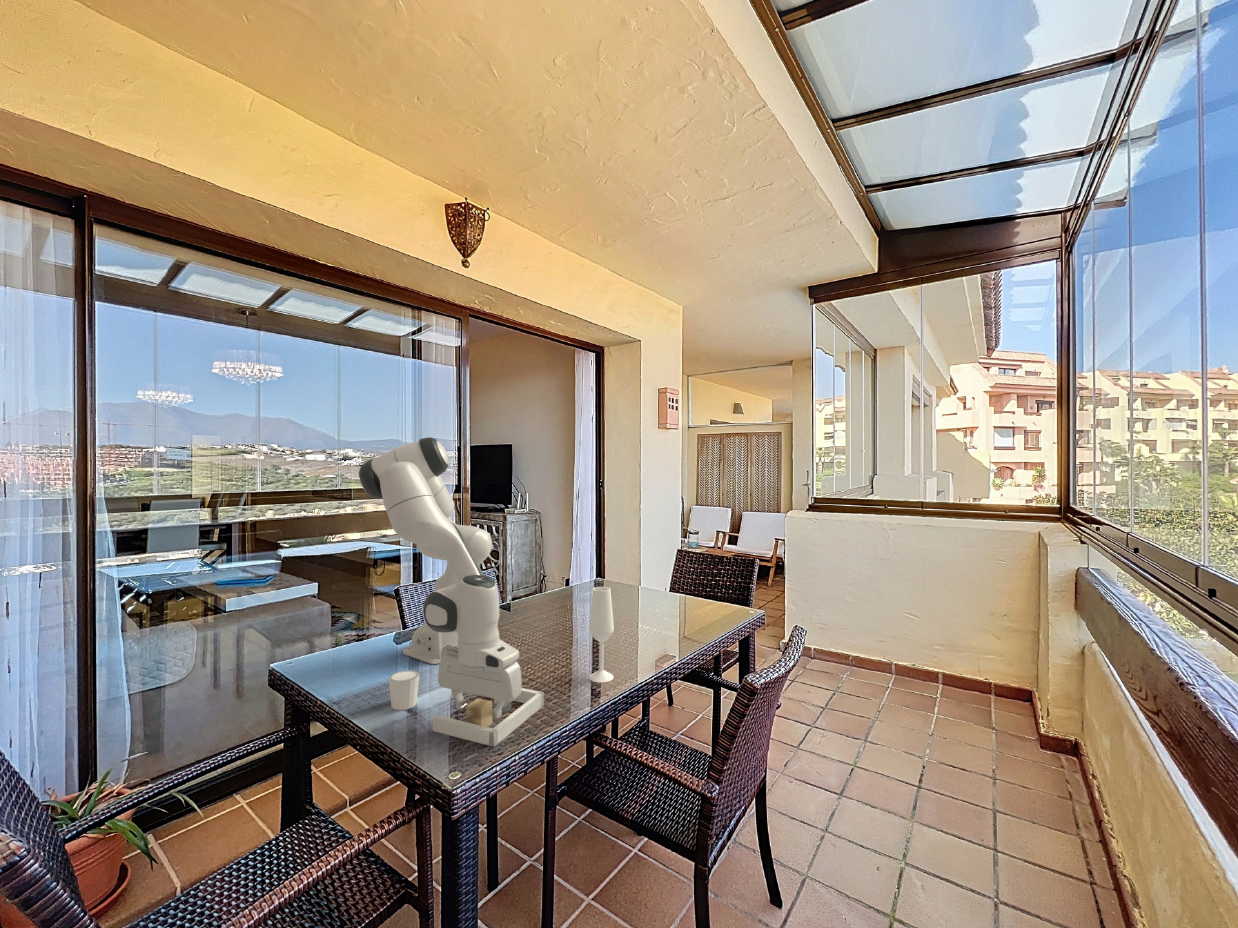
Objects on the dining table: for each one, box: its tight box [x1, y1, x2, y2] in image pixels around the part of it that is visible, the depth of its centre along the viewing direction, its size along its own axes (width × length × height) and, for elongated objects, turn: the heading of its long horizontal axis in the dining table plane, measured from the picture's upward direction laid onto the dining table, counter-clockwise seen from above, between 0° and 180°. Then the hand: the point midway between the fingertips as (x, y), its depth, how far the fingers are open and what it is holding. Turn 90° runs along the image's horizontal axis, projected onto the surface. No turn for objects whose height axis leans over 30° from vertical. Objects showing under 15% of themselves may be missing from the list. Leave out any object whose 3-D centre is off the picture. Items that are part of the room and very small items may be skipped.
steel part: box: [493, 699, 512, 714], centre depth 126 cm, size 4×4×6 cm
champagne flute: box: [588, 586, 615, 683], centre depth 144 cm, size 7×7×24 cm
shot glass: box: [388, 669, 420, 711], centre depth 128 cm, size 7×7×7 cm
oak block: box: [465, 697, 493, 728], centre depth 118 cm, size 4×4×5 cm
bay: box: [432, 687, 545, 747], centre depth 122 cm, size 16×20×3 cm
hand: (478, 712), depth 117 cm, fingers open, 8 cm apart
